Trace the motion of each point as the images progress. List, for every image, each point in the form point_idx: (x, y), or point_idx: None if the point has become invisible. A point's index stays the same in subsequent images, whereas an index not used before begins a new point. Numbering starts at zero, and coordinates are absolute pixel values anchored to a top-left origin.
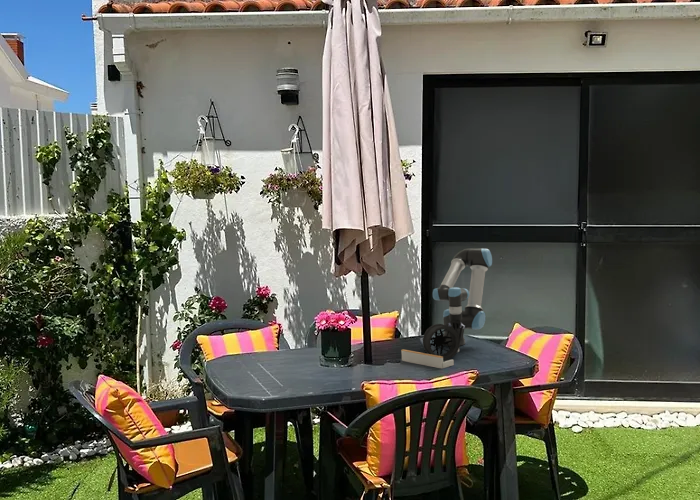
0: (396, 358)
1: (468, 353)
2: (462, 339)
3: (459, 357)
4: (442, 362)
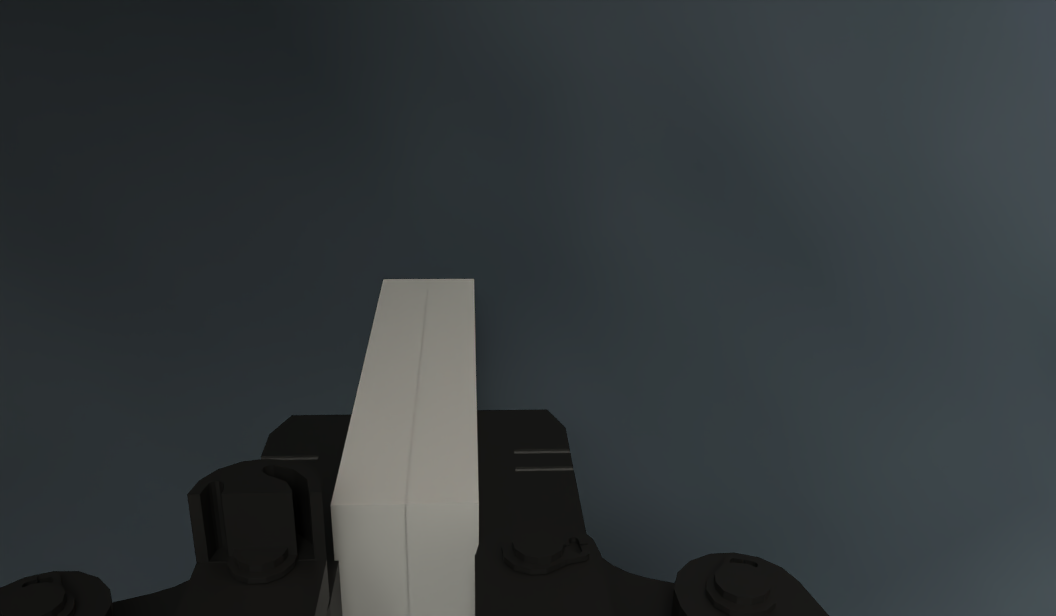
0: None
1: (697, 22)
2: (803, 602)
3: None
4: None
